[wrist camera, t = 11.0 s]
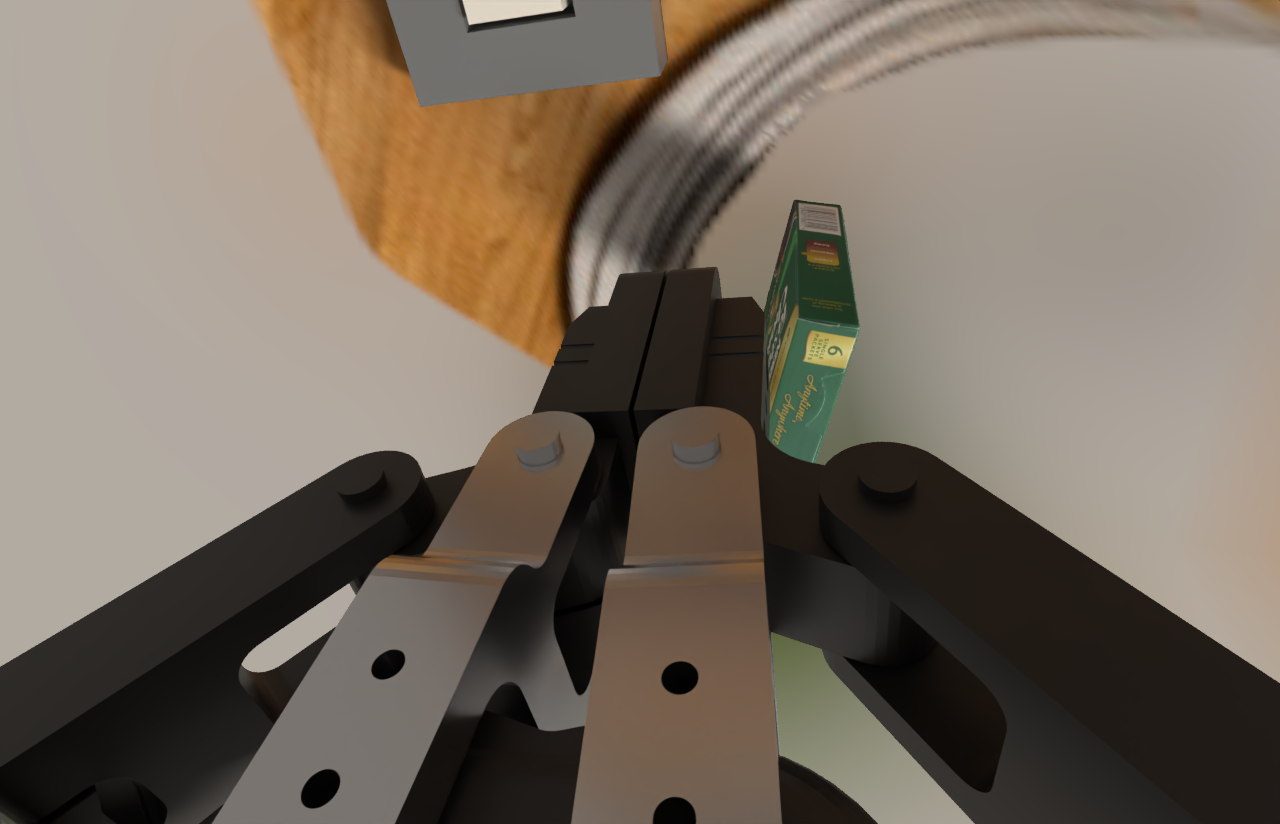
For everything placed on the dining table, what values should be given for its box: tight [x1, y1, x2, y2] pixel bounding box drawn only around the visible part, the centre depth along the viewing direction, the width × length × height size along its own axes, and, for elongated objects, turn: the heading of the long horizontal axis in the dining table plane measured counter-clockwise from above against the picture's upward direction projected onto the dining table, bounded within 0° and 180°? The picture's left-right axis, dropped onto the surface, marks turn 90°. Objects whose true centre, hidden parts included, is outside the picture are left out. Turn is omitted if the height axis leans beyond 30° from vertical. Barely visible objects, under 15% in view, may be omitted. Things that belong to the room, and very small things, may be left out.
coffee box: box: [764, 200, 860, 463], centre depth 37 cm, size 8×3×13 cm, turn 173°
